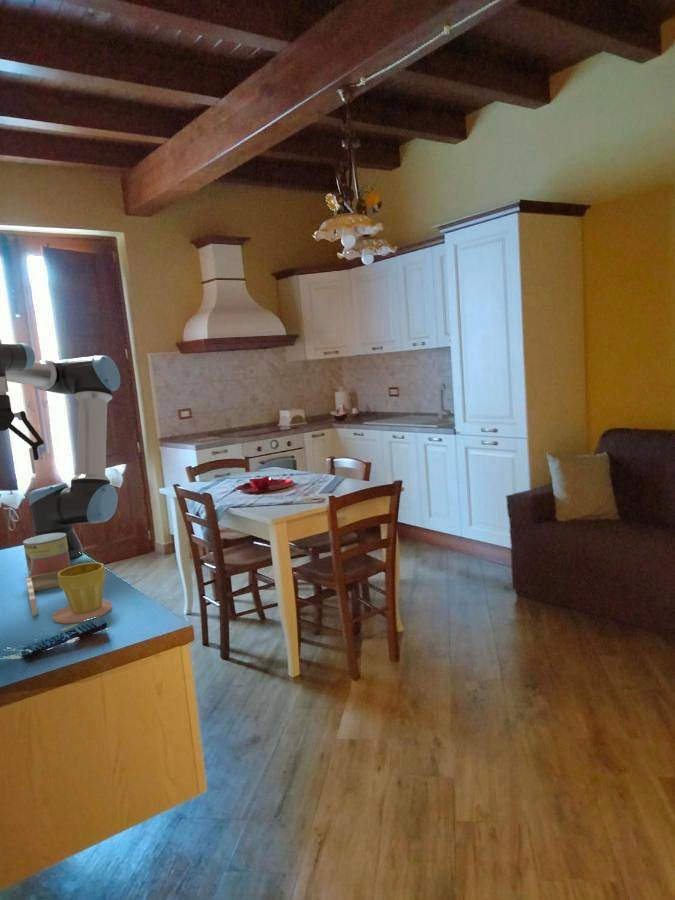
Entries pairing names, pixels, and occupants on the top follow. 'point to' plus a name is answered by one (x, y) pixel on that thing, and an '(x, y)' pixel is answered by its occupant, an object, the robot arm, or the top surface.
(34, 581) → the slot cradle
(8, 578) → the top surface
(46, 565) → the canned food
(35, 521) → the robot arm
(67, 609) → the disc
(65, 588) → the plant pot
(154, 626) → the top surface
